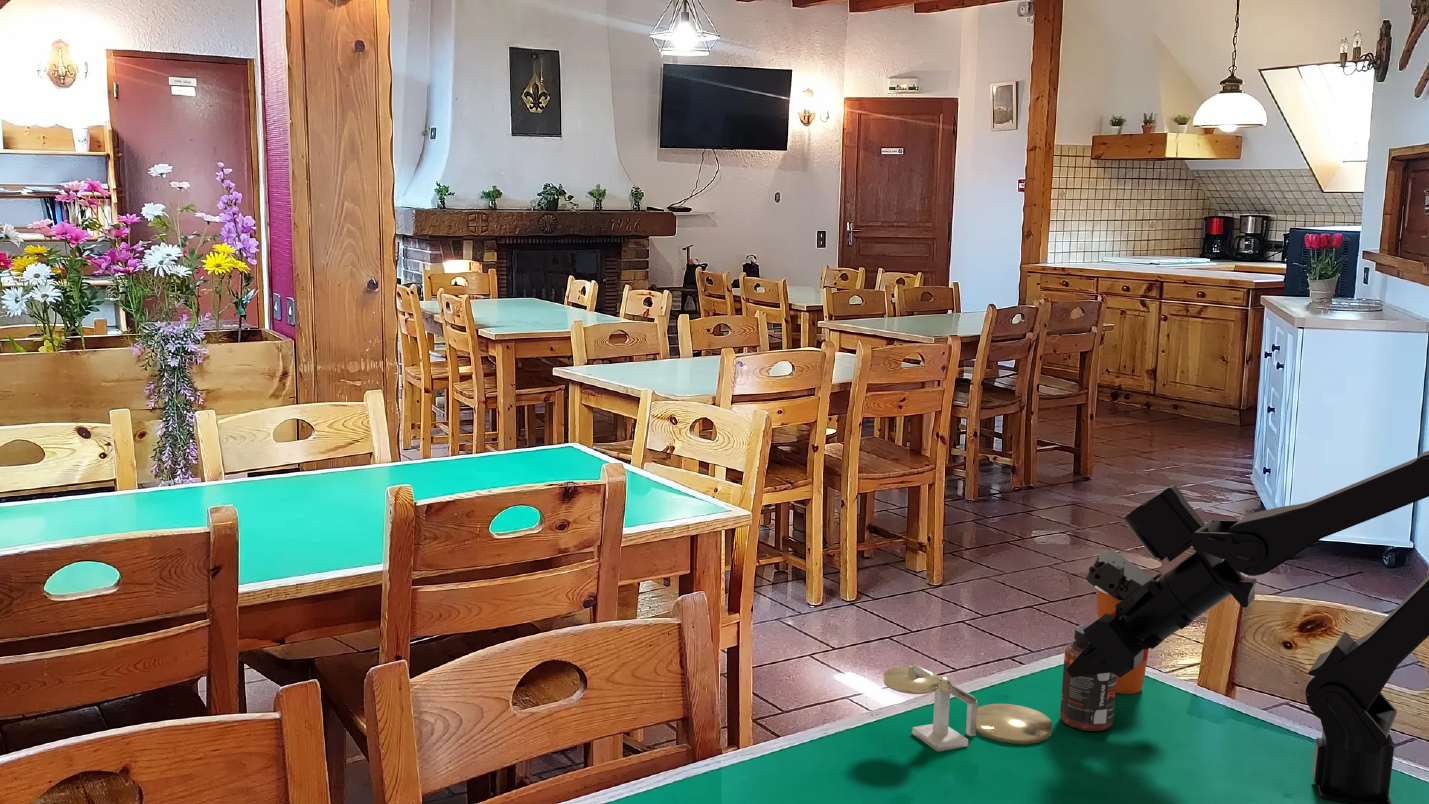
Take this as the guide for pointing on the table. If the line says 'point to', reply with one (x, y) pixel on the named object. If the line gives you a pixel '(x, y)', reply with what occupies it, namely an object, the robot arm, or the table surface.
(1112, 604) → the paper cup
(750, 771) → the table surface
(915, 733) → the balance
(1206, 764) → the table surface
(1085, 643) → the supplement bottle
